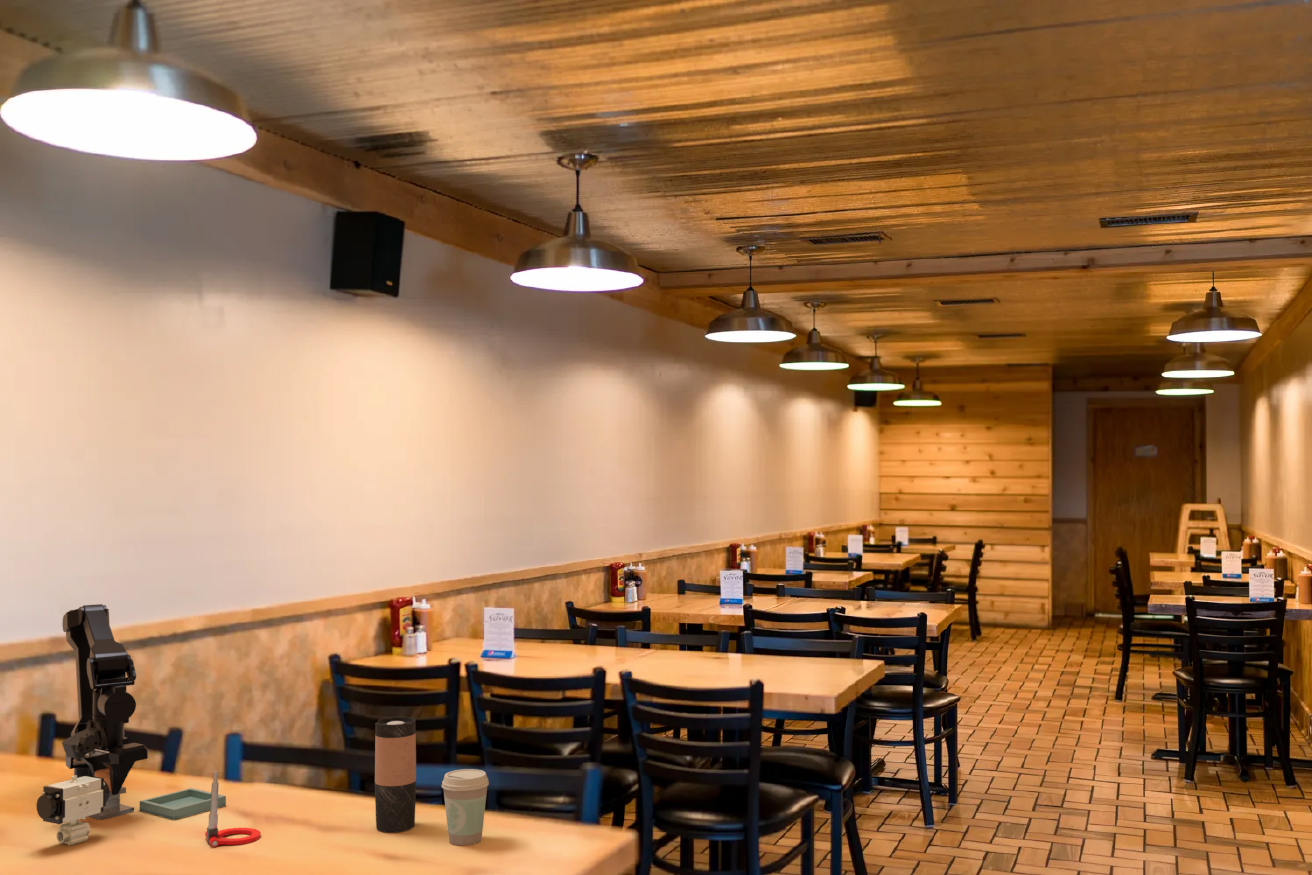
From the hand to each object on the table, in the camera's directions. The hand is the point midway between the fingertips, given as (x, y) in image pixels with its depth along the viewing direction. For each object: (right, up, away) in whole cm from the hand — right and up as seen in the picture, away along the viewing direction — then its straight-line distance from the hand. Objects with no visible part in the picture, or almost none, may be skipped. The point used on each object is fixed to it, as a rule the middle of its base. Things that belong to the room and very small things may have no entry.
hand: (107, 792), depth 229 cm
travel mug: (+60, -3, -11) cm, 61 cm away
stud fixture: (0, -4, 0) cm, 4 cm away
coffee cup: (+75, -3, -20) cm, 77 cm away
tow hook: (+32, -3, -18) cm, 36 cm away
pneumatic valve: (+3, -3, -19) cm, 20 cm away
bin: (+14, -4, +3) cm, 15 cm away
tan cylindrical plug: (0, 0, 0) cm, 0 cm away
